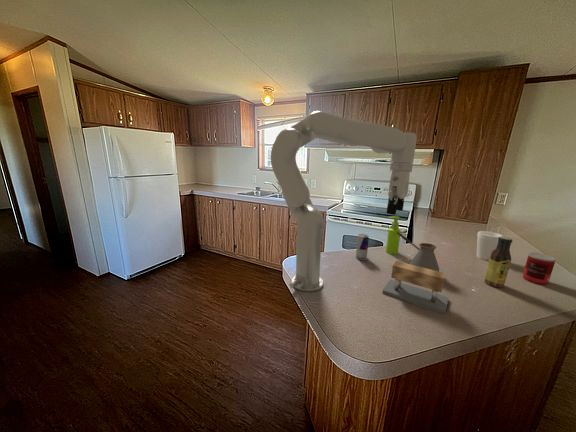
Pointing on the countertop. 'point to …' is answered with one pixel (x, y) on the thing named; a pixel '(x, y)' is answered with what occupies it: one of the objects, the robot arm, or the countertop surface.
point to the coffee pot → (424, 255)
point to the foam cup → (486, 244)
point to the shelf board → (418, 276)
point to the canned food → (538, 268)
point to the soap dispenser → (393, 237)
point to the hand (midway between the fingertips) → (394, 212)
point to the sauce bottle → (499, 263)
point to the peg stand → (416, 295)
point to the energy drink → (362, 246)
